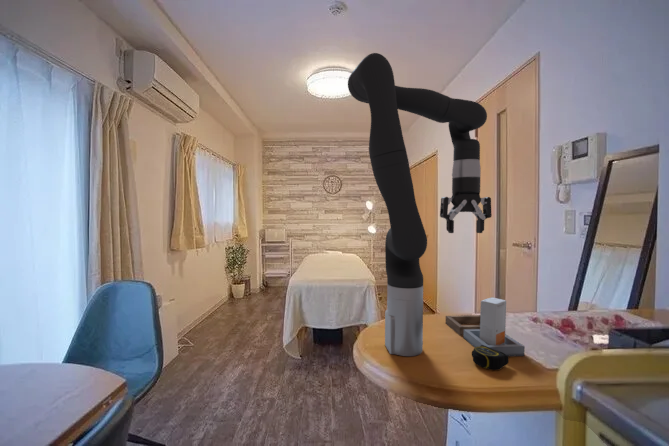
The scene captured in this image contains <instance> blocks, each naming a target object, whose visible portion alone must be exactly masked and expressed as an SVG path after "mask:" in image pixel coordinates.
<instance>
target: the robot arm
mask: <svg viewBox="0 0 669 446" xmlns="http://www.w3.org/2000/svg"><path fill="white" fill-rule="evenodd" d="M347 88H348V92H349V93H350V95H351V97H353V98H354V99H355V100H357V101H358V102H360V103H364V104H368V107H369V110H370V130H369V141H368V153H369V159H370V165H371V170H372V172H373V177H374V181H375V182H376V185H377V188H378V191H379V193H380V195H381V197H382V199H383V201H384V203H385V206H386V210H387V213H388V214H387V215H388V218H389V219H388V220H389V225H390V228H389V229H388V231H387V232H386V237H385V241H384V242H385V244H384V245H385V247H384V248H385V251H384V252H385V253H384V254H385V273H386V280H387V281H386V282H387V283H386V285H387V286H386V289H387V290H386V291H387V292H386V293H387V294H386V295H387V296H386V298H387V299H386V300H387V301H386V309H385V312H384V345H385V347H386V349H387V350H388V353H389V354H390V355H397V356H401V357H402V356H403V357H416V356H419V355H421V354H422V353H423V348H424V347H423V345H424V341H423V340H424V338H423V337H424V335H423V334H424V333H423V332H424V331H423V330H424V324H423V323H424V275H423V272H422V269H421V266H420V265H421V264H420V259H421V257H423V256H424V254H425V253H426V251H427V247H428V237H427V232H426V230H425V226H424V224H423V221H422V218H421V215H420V212H419V209H418V206H417V201H416V196H415V189H414V184H413V179H412V174H411V167H410V161H409V158H408V153H407V147H406V144H405V141H404V135H403V132H402V131H403V130H402V126H401V121H400V115H399V110H400V111H403V112H408V113H410V114H414V115H417V116H420V117H423V118H426V119H428V120H431V121H433V122H436V123H438V124H439V123H440V124H447V123H448V131H449V134H450V136H449V137H450V138H451V139H450V141H451V144H452V147H453V158H452V159H453V163H452V171H451V172H452V173H451V176H452V178H451V180H452V181H451V182H452V183H451V197H448V196H443V197H441V199H440V208H439V210H440V211H439V217H440V218H443V219H445V221H446V231H447V232H448V234H454V231H455V229H454V228H455V220H454V219H455V218H456V216H457V215H458V214H459V213H472V214H473V215H474V216H475V217H476V219H477V220H476V223H475V224H476V229H475V231H476V233H477V234H483V232H484V231H485V220H486V219H489V218H492V198H491V197H490V196H485V197H481V196H480V193H481V173H482V172H481V161H480V159H481V157H480V156H481V146H480V145H481V144H480V141H479V140H478V139H474V138H471V135H470V132H472V131H474V130H478V129H480V128H481V127H483V126H484V124H485V123H486V122H487V117H488V113H487V109H486V108H485V107H484V106H483V105H482V104H480V103H478V102H476V101H473V100H467V99H462V98H453V97H450V96H449V95H445V94H443V93H440V92H438V91H435V90H433V89H428V88H422V87H419V88H418V87H406V86H405V87H404V86H399V85H396V81H395V76H394V70H393V67H392V66H391V64H390V61H389V60H388V59H387V58H386V57H385V56H384V55H383V54H382V53H377V52H373V53H369V54H367V55H366V56H365V57H364V58H363V59H362V60H361V61H360V62H359V64H357V65H356V67H355V69H353V71H352V72H351V73H350V75H349V77H348V80H347ZM450 203H451V204H452V205H453V206H452V207H451V209H449V205H450ZM480 203H481V206H482V209H481V208H480V206H479V205H480ZM448 211H449V212H448Z"/></svg>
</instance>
